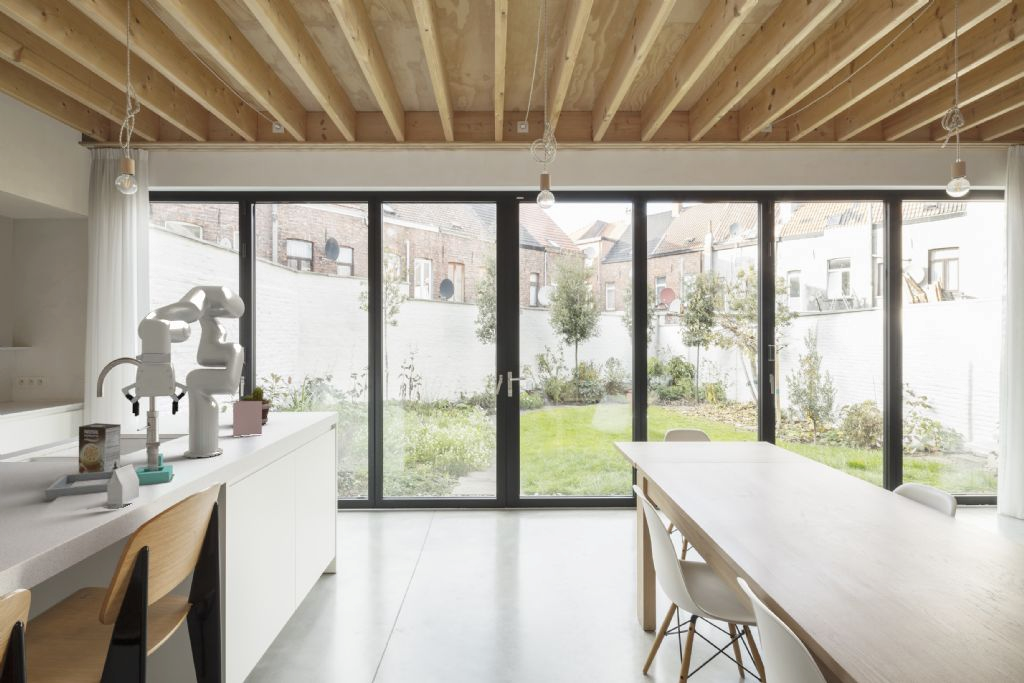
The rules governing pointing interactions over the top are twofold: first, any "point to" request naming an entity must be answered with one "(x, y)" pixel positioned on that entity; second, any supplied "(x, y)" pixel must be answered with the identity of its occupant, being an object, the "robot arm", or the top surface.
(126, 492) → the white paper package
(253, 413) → the greeting card
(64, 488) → the tray
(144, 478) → the collar
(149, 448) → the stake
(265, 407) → the flowerpot
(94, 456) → the coffee box
